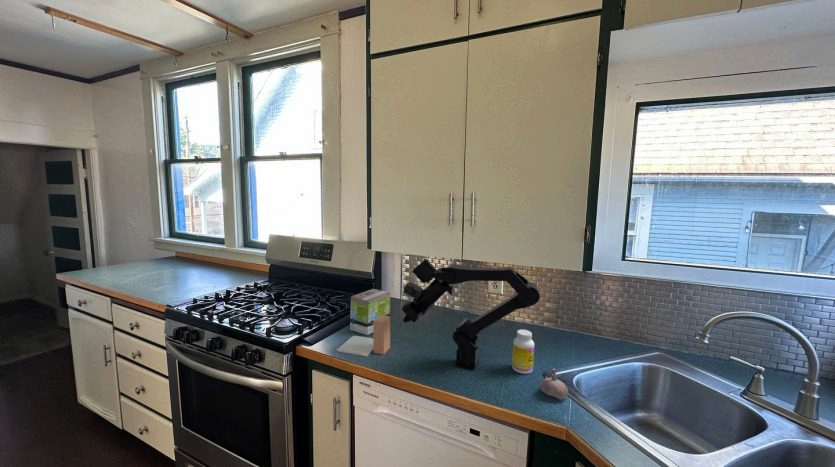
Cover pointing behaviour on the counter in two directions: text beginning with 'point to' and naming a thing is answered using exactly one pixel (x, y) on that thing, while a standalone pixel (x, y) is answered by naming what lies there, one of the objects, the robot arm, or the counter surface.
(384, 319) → the block
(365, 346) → the mat
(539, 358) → the counter surface
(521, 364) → the supplement bottle
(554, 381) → the garlic bulb
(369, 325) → the tea box
